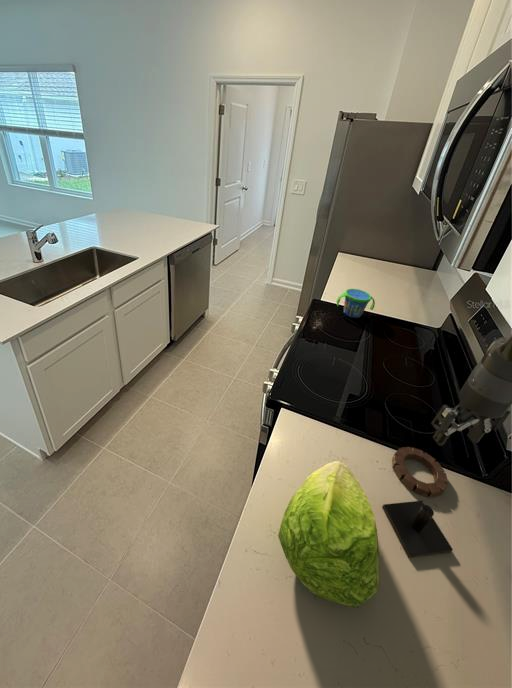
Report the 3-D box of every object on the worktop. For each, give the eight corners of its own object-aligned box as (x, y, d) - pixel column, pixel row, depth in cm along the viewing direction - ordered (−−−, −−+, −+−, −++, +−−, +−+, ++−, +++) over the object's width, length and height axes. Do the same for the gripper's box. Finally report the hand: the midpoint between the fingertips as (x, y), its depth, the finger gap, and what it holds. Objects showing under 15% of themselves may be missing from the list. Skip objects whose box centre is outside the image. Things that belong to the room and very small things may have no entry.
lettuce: (378, 505, 67) (388, 454, 62) (374, 644, 47) (388, 584, 42) (300, 477, 74) (303, 429, 70) (268, 586, 54) (269, 529, 49)
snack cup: (368, 310, 140) (374, 291, 135) (372, 323, 131) (380, 302, 126) (332, 305, 142) (338, 286, 137) (335, 317, 133) (340, 297, 128)
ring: (422, 450, 79) (425, 445, 78) (455, 494, 69) (459, 489, 68) (383, 453, 77) (385, 448, 76) (410, 499, 68) (414, 494, 67)
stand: (419, 503, 67) (432, 484, 64) (450, 552, 60) (467, 534, 56) (381, 507, 66) (392, 488, 62) (408, 557, 58) (422, 539, 55)
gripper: (474, 404, 56) (438, 459, 64) (541, 400, 58) (497, 454, 66) (444, 375, 62) (414, 428, 70) (505, 372, 64) (469, 424, 72)
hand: (454, 440), depth 68 cm, fingers open, 8 cm apart
